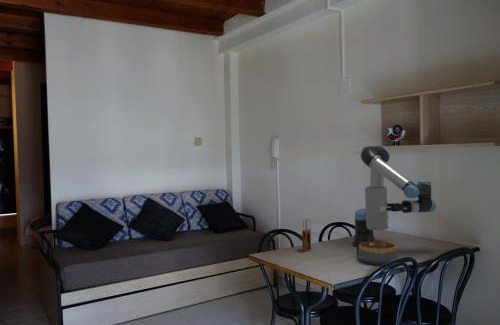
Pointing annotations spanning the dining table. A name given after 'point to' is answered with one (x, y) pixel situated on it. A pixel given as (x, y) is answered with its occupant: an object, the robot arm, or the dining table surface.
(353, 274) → the dining table surface
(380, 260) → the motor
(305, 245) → the multimeter
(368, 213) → the cylinder vase
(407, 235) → the dining table surface
